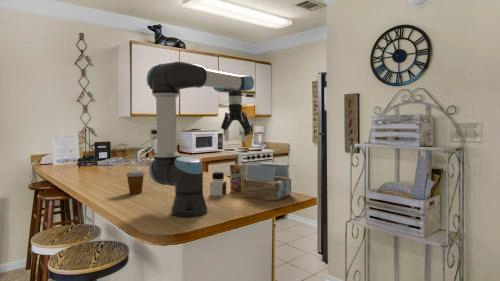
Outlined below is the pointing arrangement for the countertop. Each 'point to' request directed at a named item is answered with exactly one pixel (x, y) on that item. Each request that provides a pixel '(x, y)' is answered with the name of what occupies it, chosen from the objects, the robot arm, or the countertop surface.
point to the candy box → (237, 178)
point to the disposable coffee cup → (135, 181)
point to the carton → (268, 188)
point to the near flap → (260, 173)
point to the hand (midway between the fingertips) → (235, 141)
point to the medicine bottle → (218, 184)
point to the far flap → (278, 169)
